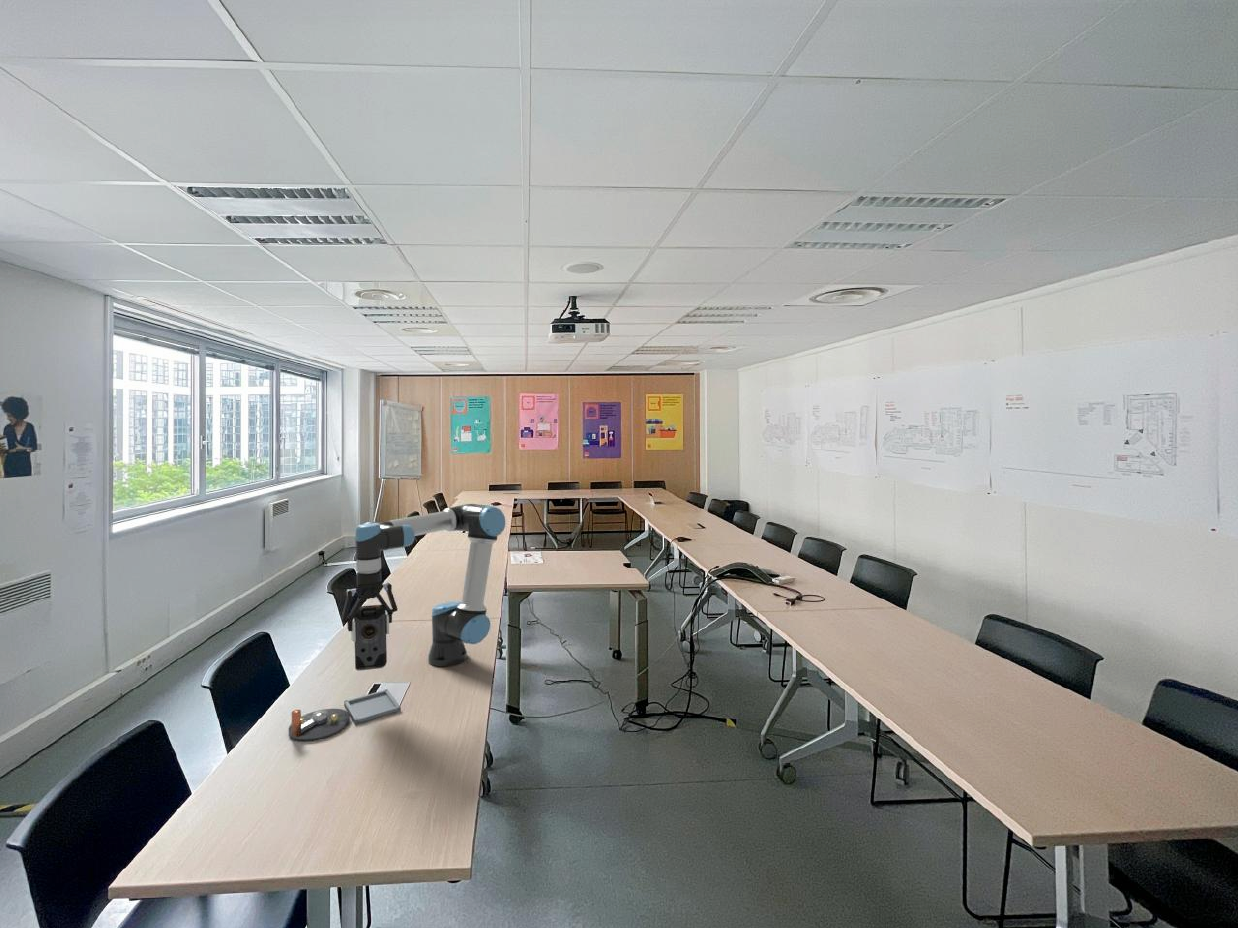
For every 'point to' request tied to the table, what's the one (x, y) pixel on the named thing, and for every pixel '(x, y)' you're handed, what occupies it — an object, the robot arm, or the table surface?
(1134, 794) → the table surface
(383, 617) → the electronic device
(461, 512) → the robot arm
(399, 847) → the table surface
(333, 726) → the crank base
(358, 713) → the tray
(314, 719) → the crank
